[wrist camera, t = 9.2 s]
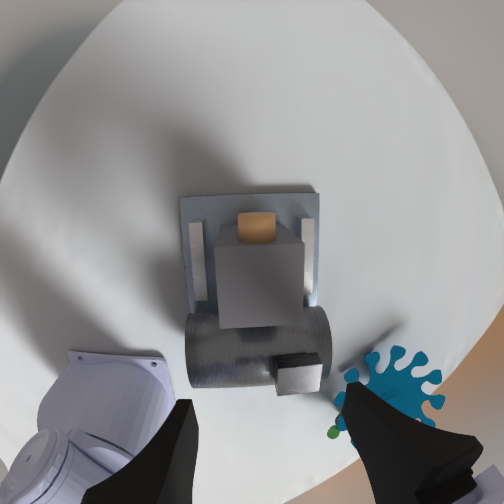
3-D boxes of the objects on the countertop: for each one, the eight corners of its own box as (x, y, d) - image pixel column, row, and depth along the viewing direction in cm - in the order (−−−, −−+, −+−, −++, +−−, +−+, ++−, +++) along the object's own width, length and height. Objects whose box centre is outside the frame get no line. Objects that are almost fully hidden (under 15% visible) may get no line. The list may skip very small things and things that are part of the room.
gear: (421, 323, 20) (461, 422, 15) (411, 331, 25) (444, 412, 20) (304, 381, 22) (342, 478, 17) (316, 378, 27) (347, 458, 22)
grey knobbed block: (223, 285, 19) (220, 328, 13) (218, 207, 18) (212, 219, 12) (282, 282, 19) (302, 323, 14) (281, 205, 18) (305, 216, 12)
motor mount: (196, 355, 21) (186, 416, 15) (181, 197, 18) (153, 206, 12) (310, 348, 22) (336, 405, 15) (316, 192, 19) (358, 199, 12)
